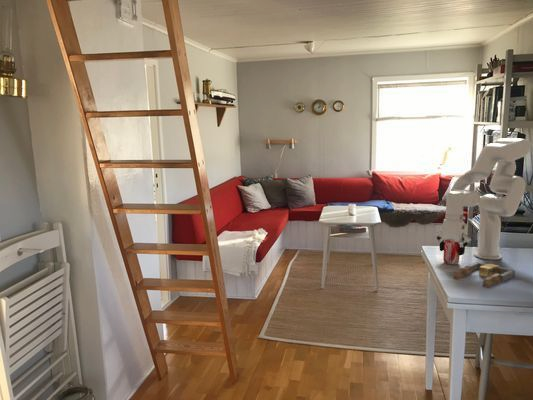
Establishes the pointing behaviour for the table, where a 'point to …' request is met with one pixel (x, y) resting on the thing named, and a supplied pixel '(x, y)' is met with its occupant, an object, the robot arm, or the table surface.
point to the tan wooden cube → (485, 271)
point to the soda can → (451, 252)
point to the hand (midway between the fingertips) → (451, 252)
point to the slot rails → (486, 281)
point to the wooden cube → (494, 268)
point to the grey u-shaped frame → (503, 271)
